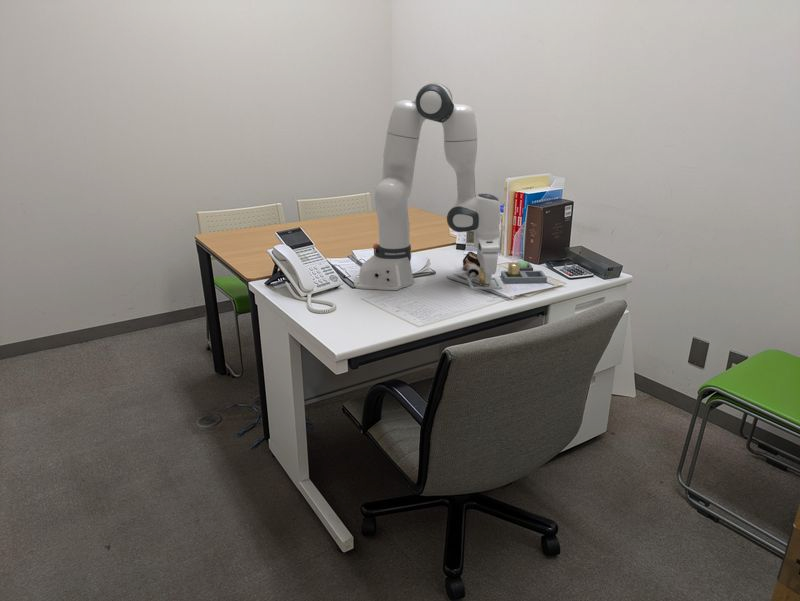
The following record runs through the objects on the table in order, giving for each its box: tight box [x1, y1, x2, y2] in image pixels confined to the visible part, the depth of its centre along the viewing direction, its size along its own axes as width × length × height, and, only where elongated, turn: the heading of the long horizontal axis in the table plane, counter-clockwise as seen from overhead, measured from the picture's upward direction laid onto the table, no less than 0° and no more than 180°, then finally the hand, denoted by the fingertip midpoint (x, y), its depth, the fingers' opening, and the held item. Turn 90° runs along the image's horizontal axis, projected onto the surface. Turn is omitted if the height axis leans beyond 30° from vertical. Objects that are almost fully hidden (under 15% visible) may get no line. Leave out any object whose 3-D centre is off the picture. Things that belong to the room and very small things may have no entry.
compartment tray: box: [499, 270, 549, 285], centre depth 200 cm, size 16×9×3 cm, turn 90°
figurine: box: [462, 251, 481, 278], centre depth 208 cm, size 9×8×15 cm
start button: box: [516, 260, 529, 268], centre depth 207 cm, size 4×4×4 cm
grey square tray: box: [466, 276, 503, 290], centre depth 197 cm, size 11×11×2 cm
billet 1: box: [478, 268, 491, 286], centre depth 196 cm, size 4×4×6 cm
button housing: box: [519, 262, 534, 271], centre depth 207 cm, size 7×7×4 cm
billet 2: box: [507, 261, 520, 277], centre depth 199 cm, size 4×4×6 cm
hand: (485, 278), depth 196 cm, fingers open, 8 cm apart
